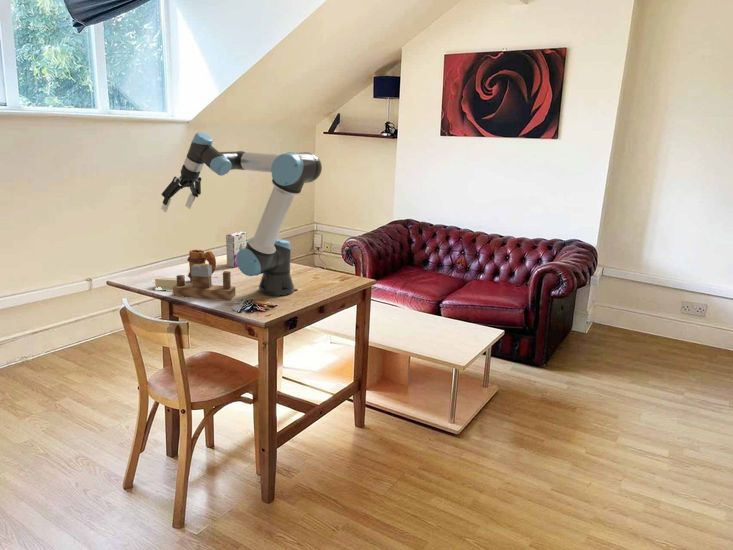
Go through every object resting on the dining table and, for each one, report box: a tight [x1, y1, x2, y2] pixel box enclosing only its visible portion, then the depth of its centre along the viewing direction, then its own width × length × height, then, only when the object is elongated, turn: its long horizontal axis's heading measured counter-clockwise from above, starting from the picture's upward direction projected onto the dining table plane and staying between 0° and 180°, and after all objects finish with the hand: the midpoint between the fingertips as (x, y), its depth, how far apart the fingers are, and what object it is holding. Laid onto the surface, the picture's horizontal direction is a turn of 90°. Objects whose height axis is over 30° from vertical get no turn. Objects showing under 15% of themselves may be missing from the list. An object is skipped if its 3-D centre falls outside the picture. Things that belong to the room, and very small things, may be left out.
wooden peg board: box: [172, 270, 237, 302], centre depth 235 cm, size 24×7×11 cm, turn 85°
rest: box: [154, 276, 177, 292], centre depth 245 cm, size 10×10×4 cm
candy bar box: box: [225, 231, 248, 269], centre depth 286 cm, size 11×5×16 cm, turn 157°
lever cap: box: [191, 263, 213, 277], centre depth 233 cm, size 7×4×5 cm, turn 85°
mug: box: [187, 249, 217, 283], centre depth 253 cm, size 15×8×15 cm, turn 62°
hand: (175, 208), depth 249 cm, fingers open, 13 cm apart
